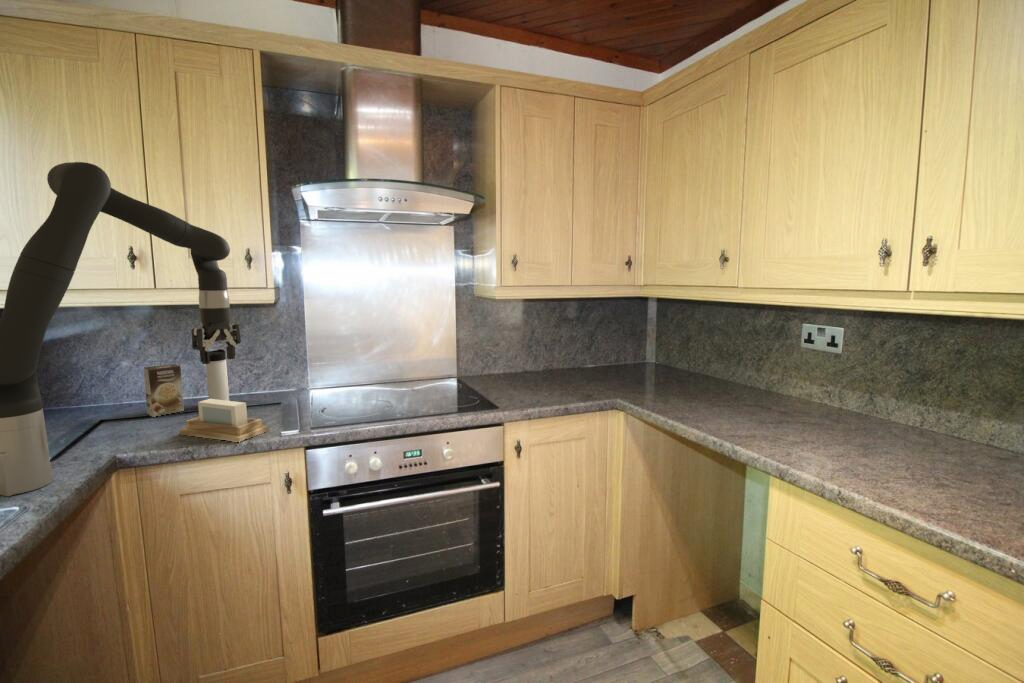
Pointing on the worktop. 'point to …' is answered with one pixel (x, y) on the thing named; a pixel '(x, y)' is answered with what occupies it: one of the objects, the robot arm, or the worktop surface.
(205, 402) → the cream rectangular block
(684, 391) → the worktop surface
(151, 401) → the coffee box
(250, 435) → the wooden tray
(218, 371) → the travel mug
